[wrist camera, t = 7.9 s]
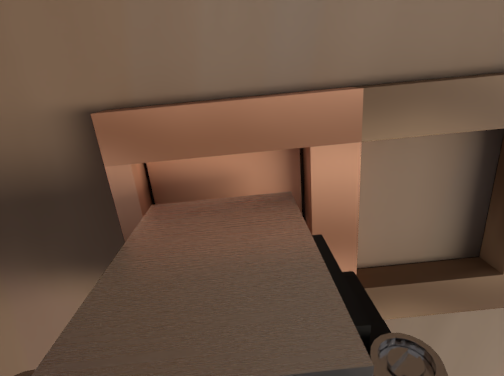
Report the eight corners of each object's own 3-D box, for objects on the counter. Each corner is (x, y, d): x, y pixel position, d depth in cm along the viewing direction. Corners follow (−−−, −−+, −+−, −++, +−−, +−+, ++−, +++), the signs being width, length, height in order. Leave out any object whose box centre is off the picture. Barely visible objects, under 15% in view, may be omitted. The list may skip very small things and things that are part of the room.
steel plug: (151, 205, 11) (6, 410, 4) (291, 191, 11) (377, 372, 4) (175, 316, 12) (102, 591, 6) (296, 304, 12) (363, 563, 6)
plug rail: (107, 110, 12) (90, 114, 11) (753, 48, 13) (818, 45, 11) (159, 320, 16) (151, 343, 15) (654, 270, 16) (694, 288, 15)
